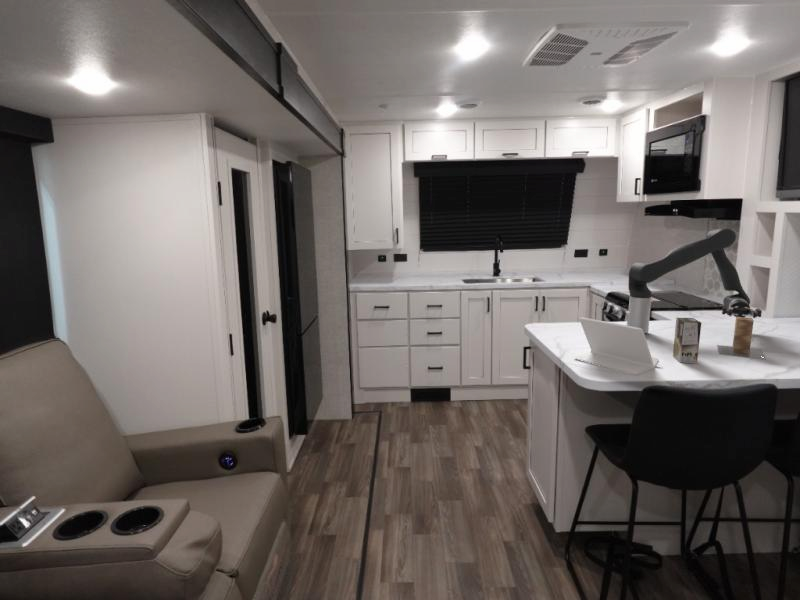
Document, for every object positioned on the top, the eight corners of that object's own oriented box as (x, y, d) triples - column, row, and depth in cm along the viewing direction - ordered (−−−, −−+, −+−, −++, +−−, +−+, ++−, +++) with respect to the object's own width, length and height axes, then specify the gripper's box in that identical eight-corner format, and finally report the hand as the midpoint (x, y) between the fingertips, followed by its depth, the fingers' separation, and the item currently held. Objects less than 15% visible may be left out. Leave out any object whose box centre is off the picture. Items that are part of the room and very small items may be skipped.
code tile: (718, 354, 207) (718, 354, 207) (716, 345, 221) (716, 344, 221) (766, 360, 199) (767, 359, 199) (761, 350, 213) (761, 349, 213)
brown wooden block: (733, 352, 209) (737, 319, 207) (732, 349, 214) (736, 316, 211) (749, 354, 206) (753, 320, 204) (748, 351, 211) (752, 317, 209)
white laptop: (635, 375, 183) (639, 329, 180) (573, 359, 202) (575, 317, 199) (659, 366, 194) (663, 322, 191) (598, 351, 213) (601, 311, 210)
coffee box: (697, 363, 196) (702, 322, 193) (679, 362, 197) (683, 321, 194) (689, 357, 205) (693, 317, 202) (672, 356, 206) (675, 316, 203)
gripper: (721, 298, 234) (723, 305, 220) (759, 300, 227) (763, 307, 214) (720, 314, 236) (722, 322, 222) (757, 317, 229) (762, 325, 215)
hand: (742, 314), depth 218 cm, fingers open, 8 cm apart
